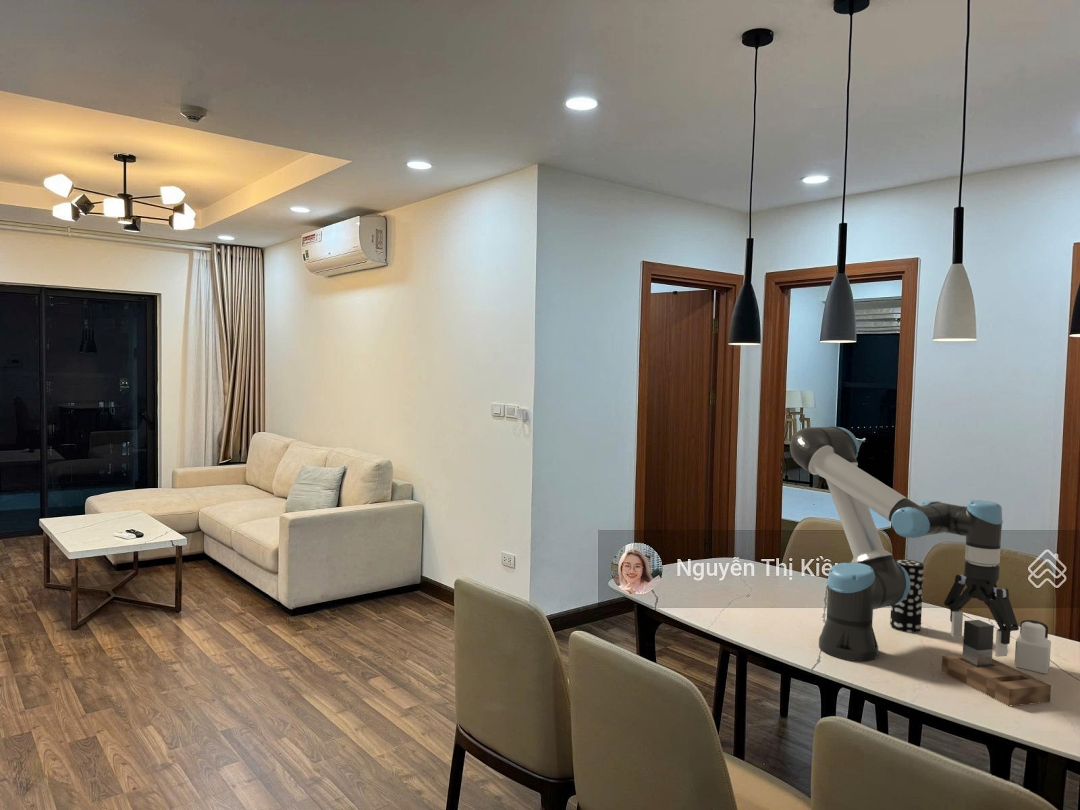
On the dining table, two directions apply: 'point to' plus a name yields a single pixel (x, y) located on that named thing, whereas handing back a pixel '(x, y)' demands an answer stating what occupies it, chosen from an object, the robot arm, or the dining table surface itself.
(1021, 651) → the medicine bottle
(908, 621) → the spotted tube
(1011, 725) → the dining table surface
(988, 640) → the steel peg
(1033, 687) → the wooden compartment tray
